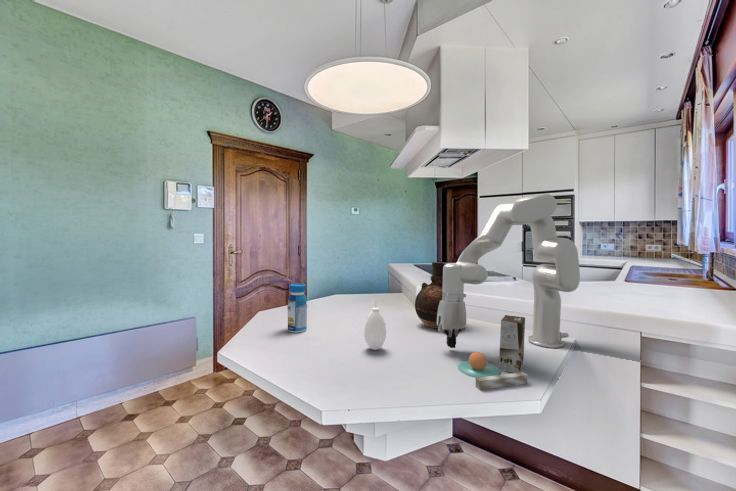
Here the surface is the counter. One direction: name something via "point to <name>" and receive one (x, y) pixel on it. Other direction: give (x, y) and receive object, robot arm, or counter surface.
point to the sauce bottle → (375, 329)
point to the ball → (477, 361)
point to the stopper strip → (501, 380)
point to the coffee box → (512, 343)
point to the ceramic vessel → (430, 297)
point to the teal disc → (487, 371)
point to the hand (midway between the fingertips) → (451, 346)
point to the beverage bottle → (297, 309)
